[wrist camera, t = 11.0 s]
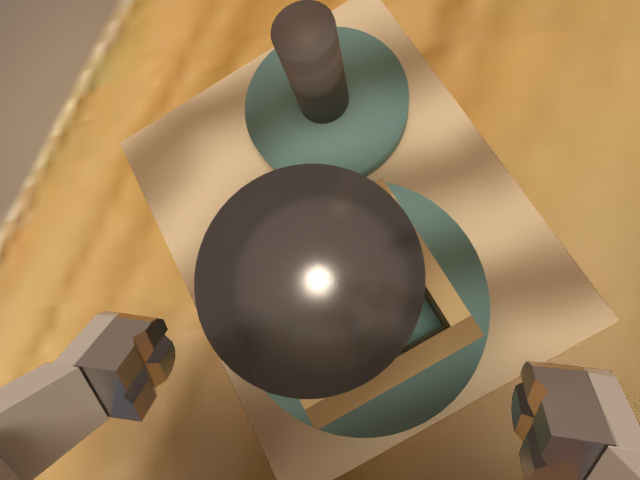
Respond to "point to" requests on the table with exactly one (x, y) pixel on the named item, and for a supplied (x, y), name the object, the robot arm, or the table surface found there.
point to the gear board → (411, 194)
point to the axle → (309, 281)
